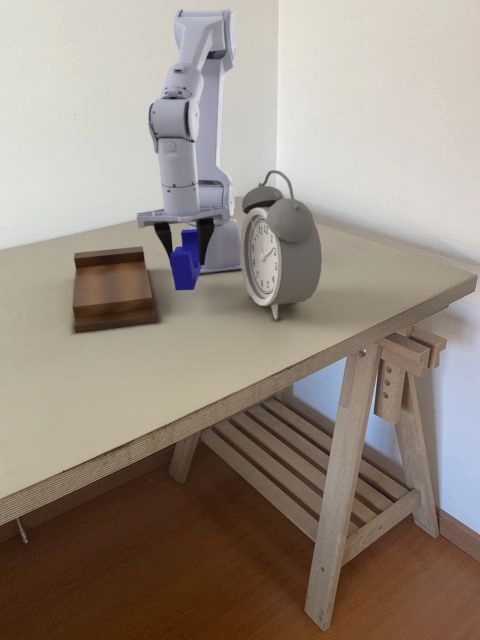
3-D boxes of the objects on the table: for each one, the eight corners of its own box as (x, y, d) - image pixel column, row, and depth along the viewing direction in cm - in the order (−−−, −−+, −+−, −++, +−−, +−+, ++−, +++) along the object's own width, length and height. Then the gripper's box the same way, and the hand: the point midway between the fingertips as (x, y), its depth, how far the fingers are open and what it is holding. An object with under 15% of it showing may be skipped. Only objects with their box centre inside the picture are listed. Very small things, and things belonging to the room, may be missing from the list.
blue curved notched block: (178, 262, 100) (173, 230, 97) (203, 261, 100) (199, 229, 97) (166, 290, 90) (160, 255, 87) (193, 289, 90) (189, 254, 87)
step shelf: (145, 269, 109) (142, 246, 106) (156, 322, 89) (152, 294, 87) (79, 276, 106) (74, 252, 104) (75, 332, 87) (69, 304, 84)
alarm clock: (237, 291, 99) (231, 163, 88) (281, 282, 102) (281, 158, 91) (275, 331, 86) (274, 187, 75) (325, 320, 89) (331, 180, 78)
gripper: (133, 193, 82) (145, 278, 89) (230, 185, 85) (234, 268, 92) (131, 181, 88) (142, 262, 95) (221, 174, 91) (226, 253, 98)
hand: (187, 264), depth 94 cm, fingers closed on blue curved notched block, 4 cm apart
